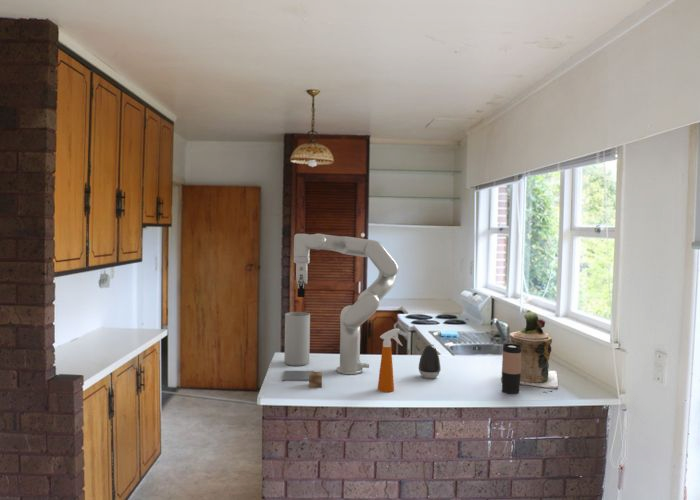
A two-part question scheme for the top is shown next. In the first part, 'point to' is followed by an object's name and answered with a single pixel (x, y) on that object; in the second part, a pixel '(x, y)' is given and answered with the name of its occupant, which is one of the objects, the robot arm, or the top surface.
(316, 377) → the walnut block
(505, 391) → the travel mug
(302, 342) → the cylinder vase
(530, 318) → the cookie jar
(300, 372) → the slate coaster
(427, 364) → the black egg ornament
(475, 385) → the top surface
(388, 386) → the spray bottle
